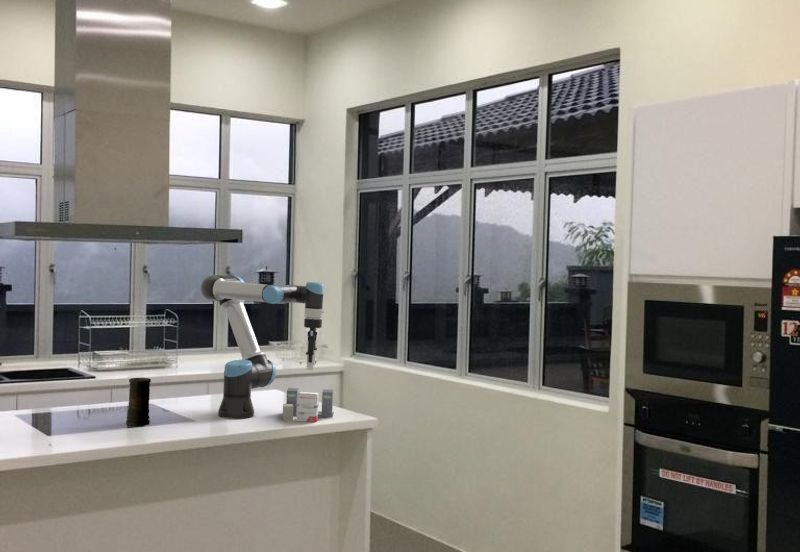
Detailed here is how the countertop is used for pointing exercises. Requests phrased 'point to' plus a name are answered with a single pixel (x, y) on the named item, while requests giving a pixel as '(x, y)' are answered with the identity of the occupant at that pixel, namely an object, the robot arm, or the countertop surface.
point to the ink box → (307, 406)
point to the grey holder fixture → (326, 402)
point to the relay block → (288, 411)
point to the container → (139, 402)
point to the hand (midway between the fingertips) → (310, 367)
